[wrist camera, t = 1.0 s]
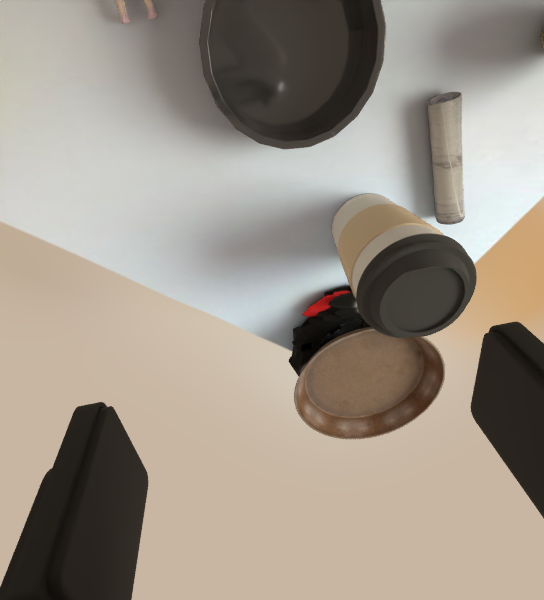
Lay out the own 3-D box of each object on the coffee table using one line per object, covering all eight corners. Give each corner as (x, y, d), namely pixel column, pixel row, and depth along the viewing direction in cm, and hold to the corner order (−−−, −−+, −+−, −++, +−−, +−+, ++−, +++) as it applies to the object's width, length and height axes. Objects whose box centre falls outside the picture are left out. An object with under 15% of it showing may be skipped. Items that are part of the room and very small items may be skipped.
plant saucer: (455, 314, 45) (469, 331, 43) (412, 420, 55) (421, 439, 52) (300, 310, 43) (304, 328, 40) (284, 421, 53) (286, 441, 50)
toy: (436, 340, 51) (447, 356, 49) (338, 405, 56) (344, 422, 53) (364, 256, 44) (373, 269, 41) (257, 339, 48) (259, 356, 46)
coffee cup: (400, 261, 44) (472, 348, 32) (319, 267, 44) (360, 359, 31) (414, 178, 39) (505, 243, 27) (323, 184, 39) (373, 254, 26)
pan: (218, -88, 27) (218, -108, 24) (391, -25, 30) (415, -33, 27) (191, 116, 34) (188, 126, 30) (335, 152, 37) (348, 165, 33)
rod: (421, 100, 35) (435, 104, 33) (452, 89, 35) (468, 93, 33) (430, 219, 42) (442, 229, 40) (456, 210, 42) (469, 220, 40)
